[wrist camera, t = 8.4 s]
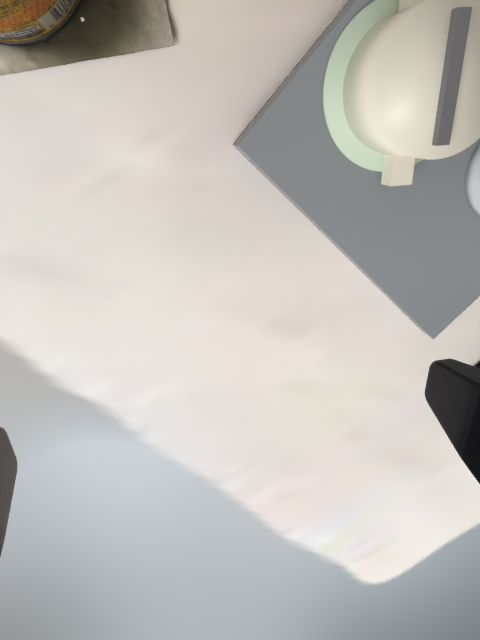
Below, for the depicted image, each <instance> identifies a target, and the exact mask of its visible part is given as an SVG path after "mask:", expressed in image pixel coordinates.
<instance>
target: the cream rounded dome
mask: <svg viewBox="0 0 480 640" xmlns="http://www.w3.org/2000/svg"><path fill="white" fill-rule="evenodd" d="M343 106H344V112H345V116H346V119H347V122H348V125H349V127H350V129H351V131H352V132H353V134H354V135H355V136H356V138H357V139H358V140H359V141H360V142H361V143H362V144H363V145H365V146H366V147H367V148H369V149H371V150H373V151H376V152H379V153H384V158H383V168H382V178H381V184H383V185H387V186H401V185H412V179H413V171H414V164H415V158H420V159H427V160H436V159H443V158H447V157H450V156H453V155H455V154H457V153H460V152H461V151H463V150H465V149H466V148H468V147H469V146H471V145H472V144H473V143H475V142H476V141H477V140H478V139H479V138H480V0H399V8H398V13H397V14H395V15H392V16H390V17H388V18H386V19H384V20H382V21H381V22H379V23H378V24H376V25H375V26H374V27H373V28H372V29H370V31H369V32H368V33H367V34H366V35H365V36H364V37H363V38H362V40H361V41H360V42H359V44H358V45H357V47H356V49H355V51H354V52H353V54H352V56H351V59H350V61H349V64H348V67H347V70H346V73H345V78H344V84H343Z"/></svg>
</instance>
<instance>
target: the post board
mask: <svg viewBox="0 0 480 640" xmlns="http://www.w3.org/2000/svg"><path fill="white" fill-rule="evenodd" d="M398 8H399V0H349V2H348V3H347V4H346V5H345V6H344V8H343V9H342V10H341V11H340V13H339V14H338V15H337V16H336V18H335V19H334V20H333V21H332V23H331V24H330V25H329V26H328V28H327V29H326V30H325V31H324V32H323V34H322V35H321V36H320V37H319V39H318V40H317V41H316V42H315V44H314V45H313V46H312V47H311V49H310V50H309V51H308V52H307V54H306V55H305V56H304V57H303V58H302V60H301V61H300V62H299V63H298V65H297V66H296V67H295V68H294V70H293V71H292V72H291V73H290V75H289V76H288V77H287V78H286V80H285V81H284V82H283V83H282V85H281V86H280V87H279V88H278V89H277V91H276V92H275V93H274V94H273V96H272V97H271V98H270V99H269V101H268V102H267V103H266V104H265V106H264V107H263V108H262V109H261V111H260V112H259V113H258V114H257V115H256V117H255V118H254V119H253V120H252V122H251V123H250V124H249V125H248V127H247V128H246V129H245V130H244V132H243V133H242V134H241V135H240V137H239V138H238V139H237V140H236V141H235V143H234V144H233V145H234V146H235V147H236V148H237V149H238V150H239V151H240V152H241V153H242V154H243V155H244V156H245V157H246V158H247V159H248V160H249V161H250V162H251V163H252V164H253V165H254V166H255V167H256V168H257V169H258V170H259V171H260V172H261V173H262V174H263V175H264V176H265V177H266V178H267V179H268V180H269V181H270V182H271V183H272V184H273V185H274V186H275V187H276V188H277V189H278V190H279V191H281V192H282V193H283V194H284V195H285V196H286V197H287V198H288V199H289V200H290V201H291V202H292V203H293V204H294V205H295V206H296V207H297V208H298V209H299V210H300V211H301V212H302V213H303V214H304V215H305V216H306V217H307V218H308V219H309V220H310V221H311V222H312V223H313V224H314V225H315V226H316V227H317V228H318V229H319V230H320V231H321V232H322V233H323V234H324V235H325V236H326V237H327V238H328V239H329V240H330V241H331V242H332V243H333V244H334V245H335V246H336V247H337V248H338V249H339V250H340V251H341V252H342V253H344V254H345V255H346V256H347V257H348V258H349V259H350V260H351V261H352V262H353V263H354V264H355V265H356V266H357V267H358V268H359V269H360V270H361V271H362V272H363V273H364V274H365V275H366V276H367V277H368V278H369V279H370V280H371V281H372V282H373V283H374V284H375V285H376V286H377V287H378V288H379V289H380V290H381V291H382V292H383V293H384V294H385V295H386V296H387V297H388V298H389V299H390V300H391V301H392V302H393V303H394V304H395V305H396V306H397V307H398V308H399V309H400V310H401V311H402V312H403V313H404V314H405V315H407V316H408V317H409V318H410V319H411V320H412V321H413V322H414V323H415V324H416V325H417V326H418V327H419V328H420V329H421V330H422V331H423V332H425V333H426V334H427V335H428V336H430V337H431V338H432V339H434V338H435V337H436V336H437V335H438V334H440V333H441V332H442V331H443V330H444V329H445V328H446V327H447V326H448V325H449V324H450V323H451V322H452V321H453V320H454V319H455V318H457V317H458V316H459V315H460V314H461V313H462V312H463V311H464V310H465V309H466V308H467V307H468V306H469V305H470V304H471V303H473V302H474V301H475V300H476V299H477V298H478V297H479V296H480V138H479V139H478V140H477V141H476V142H475V143H473V144H472V145H471V146H469V147H468V148H466V149H465V150H463V151H461V152H460V153H457V154H455V155H453V156H450V157H447V158H443V159H436V160H427V159H420V158H415V164H414V171H413V179H412V185H401V186H387V185H383V184H381V178H382V168H383V158H384V153H379V152H376V151H373V150H371V149H369V148H367V147H366V146H365V145H363V144H362V143H361V142H360V141H359V140H358V139H357V138H356V136H355V135H354V134H353V132H352V131H351V129H350V127H349V125H348V122H347V119H346V116H345V112H344V106H343V84H344V78H345V73H346V70H347V67H348V64H349V61H350V59H351V56H352V54H353V52H354V51H355V49H356V47H357V45H358V44H359V42H360V41H361V40H362V38H363V37H364V36H365V35H366V34H367V33H368V32H369V31H370V29H372V28H373V27H374V26H375V25H376V24H378V23H379V22H381V21H382V20H384V19H386V18H388V17H390V16H392V15H395V14H397V13H398Z"/></svg>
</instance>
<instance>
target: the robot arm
mask: <svg viewBox="0 0 480 640" xmlns="http://www.w3.org/2000/svg"><path fill="white" fill-rule="evenodd" d="M425 397H426V400H427V402H428V404H429V406H430V408H431V409H432V411H433V413H434V414H435V416H436V418H437V419H438V421H439V423H440V424H441V426H442V428H443V429H444V431H445V433H446V434H447V436H448V438H449V439H450V441H451V443H452V444H453V446H454V448H455V449H456V451H457V452H458V454H459V456H460V457H461V459H462V460H463V462H464V463H465V464H466V466H467V467H468V469H469V470H470V471H471V473H472V474H473V475H474V477H475V478H476V480H477V481H478V482H479V484H480V364H479V365H478V366H477V367H474V366H471V365H468V364H465V363H462V362H459V361H456V360H453V359H444V360H438V361H434V362H432V364H431V365H430V368H429V373H428V378H427V383H426V388H425ZM16 474H17V460H16V456H15V453H14V451H13V448H12V445H11V443H10V440H9V437H8V435H7V432H6V431H5V429H4V428H2V427H0V556H1V552H2V548H3V544H4V539H5V534H6V528H7V523H8V518H9V512H10V507H11V501H12V495H13V490H14V485H15V479H16Z"/></svg>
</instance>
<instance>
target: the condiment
mask: <svg viewBox="0 0 480 640" xmlns="http://www.w3.org/2000/svg"><path fill="white" fill-rule="evenodd" d="M80 17H83V18H84V19H85V21H83V22H81V19H80ZM170 46H174V41H173V36H172V31H171V26H170V22H169V17H168V12H167V7H166V2H165V0H0V75H5V74H11V73H18V72H24V71H31V70H36V69H41V68H48V67H53V66H59V65H66V64H70V63H75V62H80V61H86V60H93V59H100V58H106V57H111V56H118V55H125V54H130V53H135V52H140V51H145V50H151V49H158V48H164V47H170Z"/></svg>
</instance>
